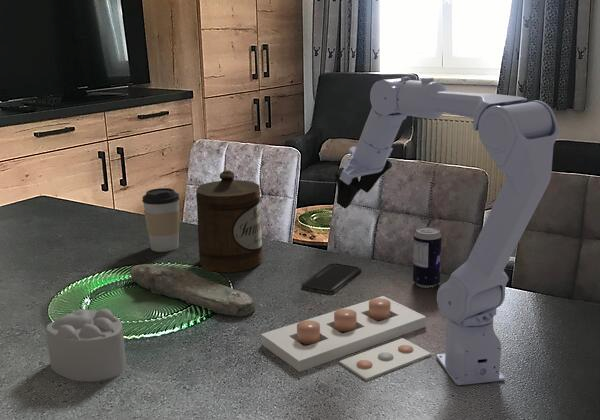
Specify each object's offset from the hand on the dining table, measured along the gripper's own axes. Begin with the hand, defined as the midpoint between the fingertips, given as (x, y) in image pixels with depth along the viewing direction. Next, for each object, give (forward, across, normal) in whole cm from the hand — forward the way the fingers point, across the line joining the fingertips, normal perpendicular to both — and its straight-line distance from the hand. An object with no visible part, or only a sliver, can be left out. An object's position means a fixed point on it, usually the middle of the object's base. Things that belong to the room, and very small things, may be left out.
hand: (353, 197), depth 128 cm
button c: (+14, +22, +10) cm, 28 cm away
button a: (+14, +7, +16) cm, 23 cm away
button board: (+15, +15, +14) cm, 26 cm away
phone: (+27, -6, +1) cm, 28 cm away
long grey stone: (+33, +18, -19) cm, 42 cm away
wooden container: (+38, -2, -23) cm, 45 cm away
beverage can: (+20, -14, +18) cm, 30 cm away
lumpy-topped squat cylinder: (+24, +47, -14) cm, 55 cm away
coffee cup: (+48, 0, -42) cm, 64 cm away
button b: (+14, +14, +13) cm, 24 cm away
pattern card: (+10, +18, +23) cm, 31 cm away
